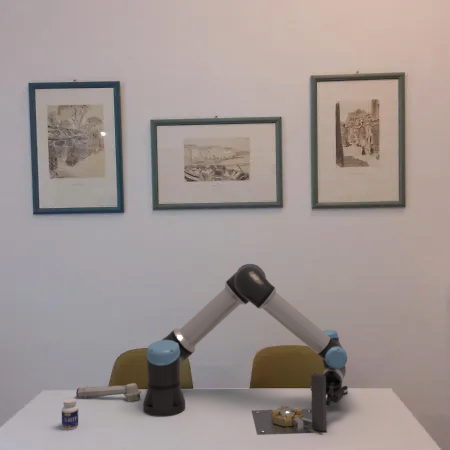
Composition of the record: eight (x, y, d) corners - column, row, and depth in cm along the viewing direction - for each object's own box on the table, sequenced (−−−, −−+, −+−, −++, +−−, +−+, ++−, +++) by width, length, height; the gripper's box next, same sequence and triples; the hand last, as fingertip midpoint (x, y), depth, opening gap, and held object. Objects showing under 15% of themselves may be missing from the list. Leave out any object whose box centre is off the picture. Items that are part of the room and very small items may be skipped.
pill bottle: (63, 431, 162) (62, 404, 162) (60, 425, 167) (60, 399, 167) (80, 428, 165) (79, 401, 165) (76, 422, 170) (76, 396, 170)
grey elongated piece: (80, 385, 197) (140, 379, 193) (83, 402, 197) (143, 396, 193) (74, 389, 192) (136, 383, 188) (77, 407, 192) (138, 401, 188)
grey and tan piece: (266, 421, 165) (265, 369, 165) (282, 411, 173) (282, 362, 172) (317, 436, 153) (316, 380, 153) (332, 425, 160) (331, 372, 160)
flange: (257, 440, 153) (257, 425, 153) (251, 413, 175) (251, 400, 175) (328, 438, 154) (328, 423, 154) (313, 411, 176) (313, 398, 176)
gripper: (350, 392, 179) (343, 420, 157) (313, 389, 183) (302, 416, 161) (349, 372, 179) (343, 397, 156) (313, 369, 183) (302, 393, 161)
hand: (322, 406), depth 159 cm, fingers closed
